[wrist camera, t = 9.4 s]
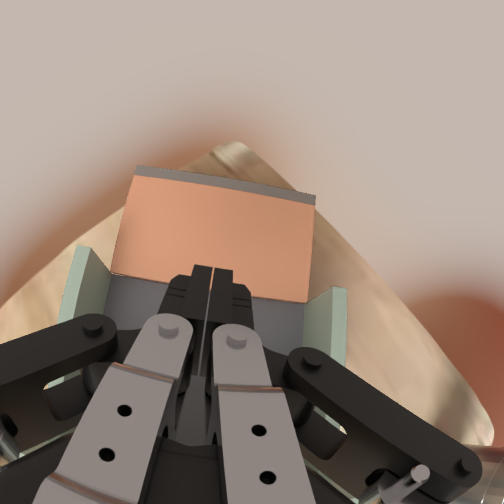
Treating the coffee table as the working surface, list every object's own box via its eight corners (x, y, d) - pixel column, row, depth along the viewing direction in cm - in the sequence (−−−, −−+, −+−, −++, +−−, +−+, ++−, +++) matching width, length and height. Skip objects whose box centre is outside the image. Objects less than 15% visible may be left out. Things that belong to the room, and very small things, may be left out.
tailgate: (307, 302, 24) (315, 195, 27) (109, 271, 22) (136, 165, 25) (302, 303, 26) (310, 200, 28) (114, 273, 24) (139, 172, 26)
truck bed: (283, 455, 25) (355, 515, 11) (96, 429, 23) (18, 471, 8) (295, 317, 32) (375, 270, 17) (116, 288, 29) (56, 218, 14)
